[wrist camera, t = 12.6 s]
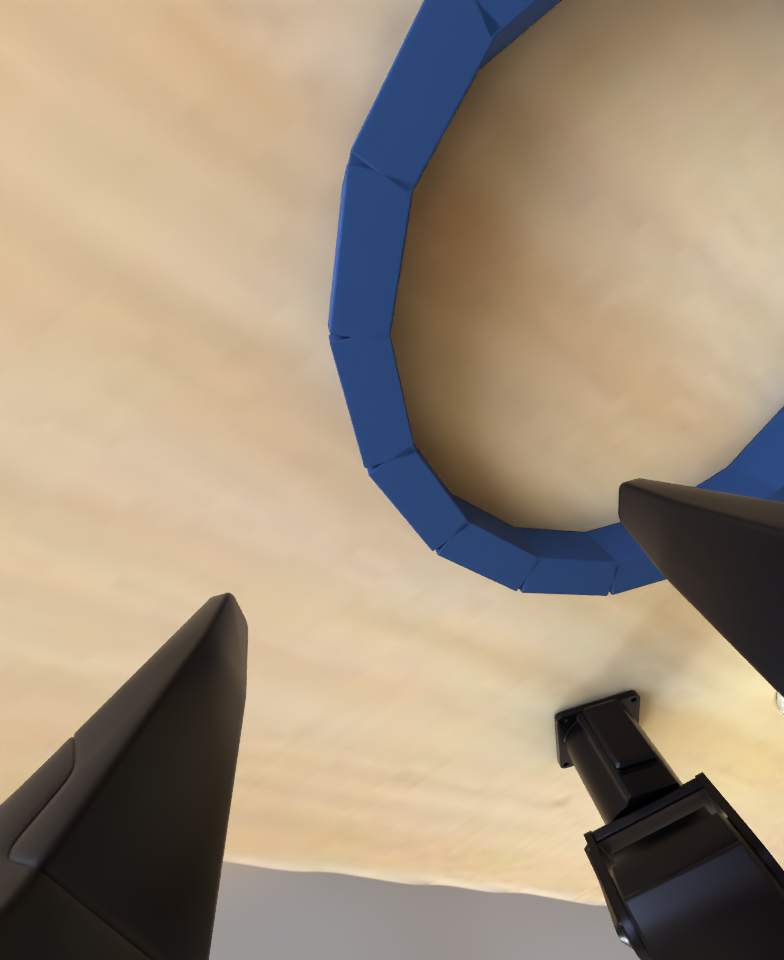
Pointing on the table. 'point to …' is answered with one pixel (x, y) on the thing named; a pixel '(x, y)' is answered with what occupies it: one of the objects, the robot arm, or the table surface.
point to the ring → (370, 308)
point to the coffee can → (780, 703)
